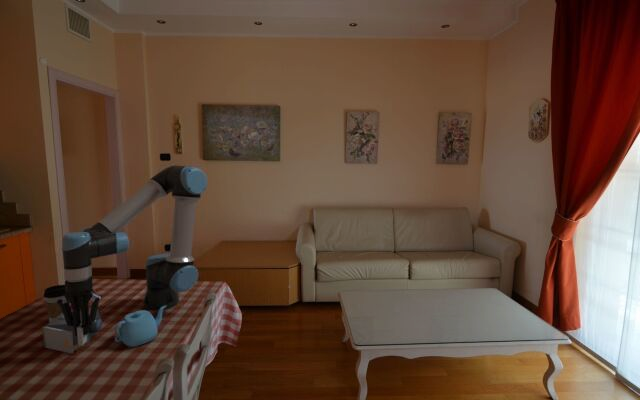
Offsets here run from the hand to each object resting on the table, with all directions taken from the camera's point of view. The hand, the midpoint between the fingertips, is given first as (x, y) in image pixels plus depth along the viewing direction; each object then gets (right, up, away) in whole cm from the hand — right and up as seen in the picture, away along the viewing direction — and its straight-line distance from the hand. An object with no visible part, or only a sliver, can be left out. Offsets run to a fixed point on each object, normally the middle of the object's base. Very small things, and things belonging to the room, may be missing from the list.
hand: (82, 343), depth 111 cm
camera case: (-8, -2, +9) cm, 12 cm away
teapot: (+15, -3, +10) cm, 18 cm away
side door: (-9, -2, 0) cm, 9 cm away
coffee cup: (-23, 0, +19) cm, 30 cm away
